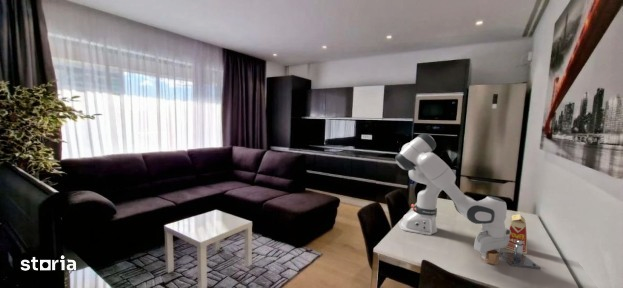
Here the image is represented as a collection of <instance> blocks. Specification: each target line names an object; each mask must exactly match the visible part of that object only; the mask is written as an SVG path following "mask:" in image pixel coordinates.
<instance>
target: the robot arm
mask: <svg viewBox="0 0 623 288" xmlns="http://www.w3.org/2000/svg"><path fill="white" fill-rule="evenodd" d="M436 147H437V143H436V141H435V139H434V138H433V137H432V135H429V134H428V133H420V134H418V135H417V136H416V137H415V138H414V139H412V140H410V142H407V143H405V144H403V145H402V147H401V150H400V152H398V153H397V154H396V155H395V157H394V158H395V159H394V160H395V162H396V164H397V166H399V168H401V169H402V170H404V171H408V177H409V180H412V181H413V182H416V183H419V184H423V185H426V187H425V189H422V190H420V191H419V192H418V193H417V199H416V204H413V203H412V204H410V205H411V208H412V210H411V211H409V212H407V213H406V214H404V215H403V218H402V220H399V221H398V226H399V228H400V229H401V230H402V231H405V232H409V233H415V234H421V235H427V236H432V234H436V233H438V228H437V215H438V208H437V203H438V198H439V194H440V193H441V192H442V191H444V193H446V195H447V196H448V197H449V198H450V199H451V200H452V202H453V205H454V208H455V210H456V211H457V213H459V214H460V215H462V216H463V217H464V218H466V219H467V220H468V221H470V222H471V223H473V224H475V225H480V224H482V225H481V226H482V230H481V232H479V233H477V234H476V235H475V239H474V245H473V249H474V250H475V251H477V252H479V253H481V254H482V259H484V260H485V259H487V255H486V253H487V251H491V250H497V251H498V252H500V251H501V250H502V249H503V248H504V247H507V245H508V243H509V234H510V233H511V230H509V229H510V228H508V227H507V228H506V223H505V221H506V219H507V213H508V212H507V211H508V210H507V209H508V208H507V203H506V201H505V200H504V199H501V198H499V197H496V196H492V195H487V196H486V197H485V198H483V199H480V200H475V199H474V198H472V197H471V196H469V195H466V194H464V192H463V191H461V189H460V188H459V187H458V186H457V185H456V179H457V176H456V175H455V173H454V171H453V170H452V169H451V167H450V166H449V165H448V164H447V163H446V162H445V161H444V160H443V159H441V158H440V156H438V155H437V154H436V153H434V152H433V151H434V150H435V149H436ZM481 254H480V255H481ZM482 259H481V260H482Z"/></svg>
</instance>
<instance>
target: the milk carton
mask: <svg viewBox="0 0 623 288" xmlns="http://www.w3.org/2000/svg"><path fill="white" fill-rule="evenodd" d="M510 218H511V219H510V226H509V228H508V229H509V230H511V233H510V234H509V243H508V245H507V247H503V248H504V249H506V250H509V251H512V252H514V248H515V244H516V243H517V240H520V241H522V244H521V245H523V250H522V254H524V255H527V254H528V235H527V234H528V233H527V222H526V219H525V217H524V216H523V215H521V211H518V214H512V215H511V217H510Z"/></svg>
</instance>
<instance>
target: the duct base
mask: <svg viewBox="0 0 623 288" xmlns="http://www.w3.org/2000/svg"><path fill="white" fill-rule="evenodd" d="M521 244H522V241H520V240H517V243H516V244H515V248H514V251H513V252H511V251H510V252H509V251H501V250H500V252H499V257H500V258H502V259H503V260H504V261H505V260H506V261H507V262H506V261H505V262H506V263H507V264H508V265H509V266H511V267H516V266H517V267H519V268H527V269H535V270H536V269H537V270H541V266H540V265H538V264H537V263H535V262H534V261H533V260H532V259H530V258H529V257H527V256H526V254H524V253H522V250H523V245H521Z"/></svg>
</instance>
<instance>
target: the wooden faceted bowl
mask: <svg viewBox="0 0 623 288" xmlns="http://www.w3.org/2000/svg"><path fill="white" fill-rule="evenodd" d="M486 255H487V259H485V260H484V259H482V254H480V259H481V260H482V262H485V263H487V264H489V265H498V264H499V263H500V261H499V260H500V255H499V252H498V251H497V250H491V251H487V253H486Z"/></svg>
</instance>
